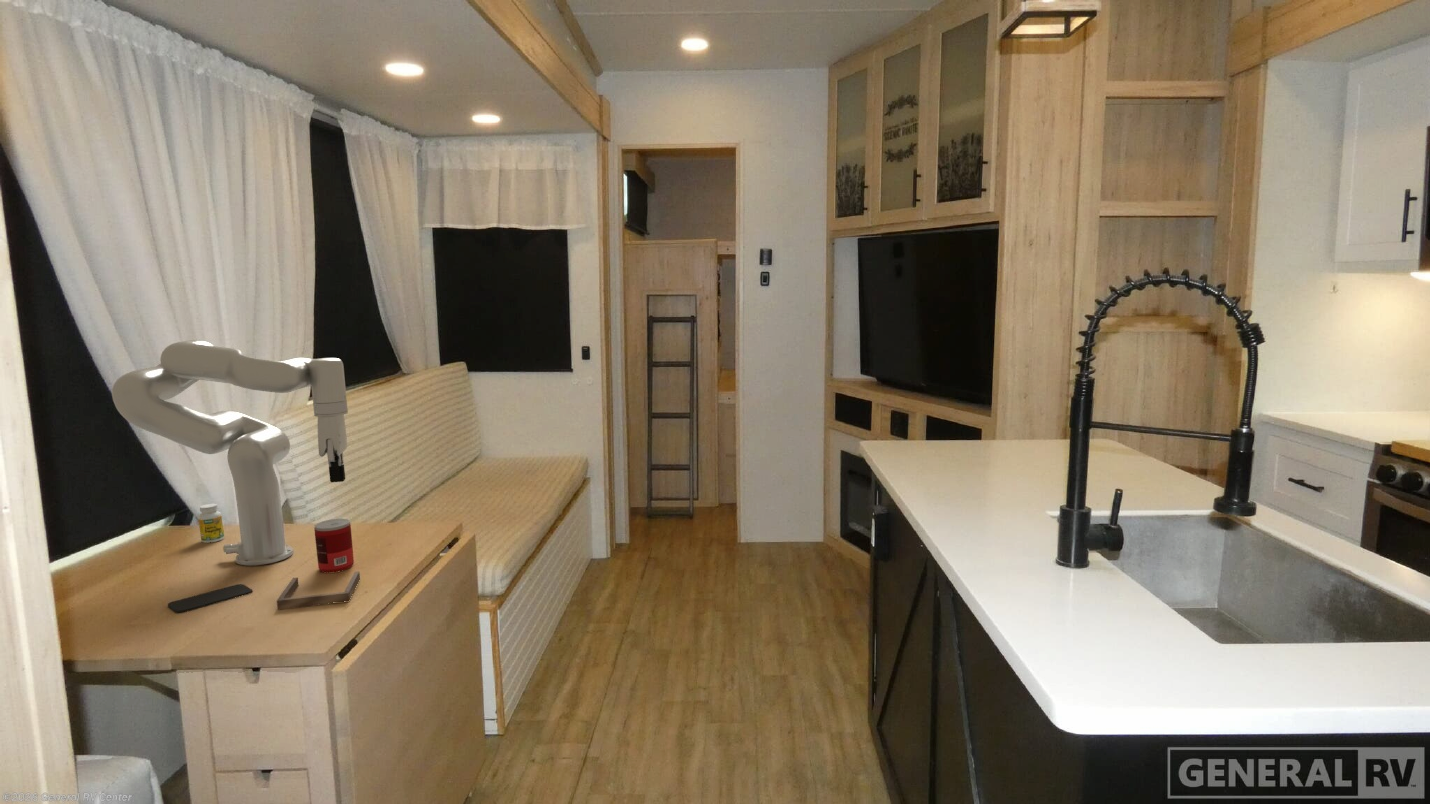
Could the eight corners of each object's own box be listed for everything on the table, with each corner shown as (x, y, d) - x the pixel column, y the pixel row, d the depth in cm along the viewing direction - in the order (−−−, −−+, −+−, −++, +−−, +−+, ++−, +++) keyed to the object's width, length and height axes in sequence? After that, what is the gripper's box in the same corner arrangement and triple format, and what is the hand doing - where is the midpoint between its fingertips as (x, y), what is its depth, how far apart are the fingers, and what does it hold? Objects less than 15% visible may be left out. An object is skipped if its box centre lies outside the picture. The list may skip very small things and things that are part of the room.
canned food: (360, 561, 200) (356, 518, 199) (342, 573, 192) (338, 528, 191) (330, 561, 201) (326, 518, 199) (311, 573, 193) (307, 528, 191)
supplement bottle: (221, 535, 223) (217, 501, 222) (226, 539, 220) (222, 505, 218) (198, 540, 220) (194, 505, 218) (203, 544, 216) (199, 509, 214)
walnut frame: (277, 609, 172) (276, 600, 172) (293, 586, 185) (292, 577, 185) (349, 601, 175) (348, 593, 175) (360, 579, 188) (359, 571, 188)
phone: (254, 590, 182) (177, 612, 171) (254, 594, 182) (177, 615, 171) (241, 583, 187) (165, 603, 176) (241, 586, 187) (166, 606, 176)
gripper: (320, 404, 207) (328, 475, 210) (306, 414, 192) (314, 490, 195) (352, 403, 209) (359, 473, 211) (341, 412, 194) (348, 487, 197)
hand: (337, 481), depth 203 cm, fingers closed
